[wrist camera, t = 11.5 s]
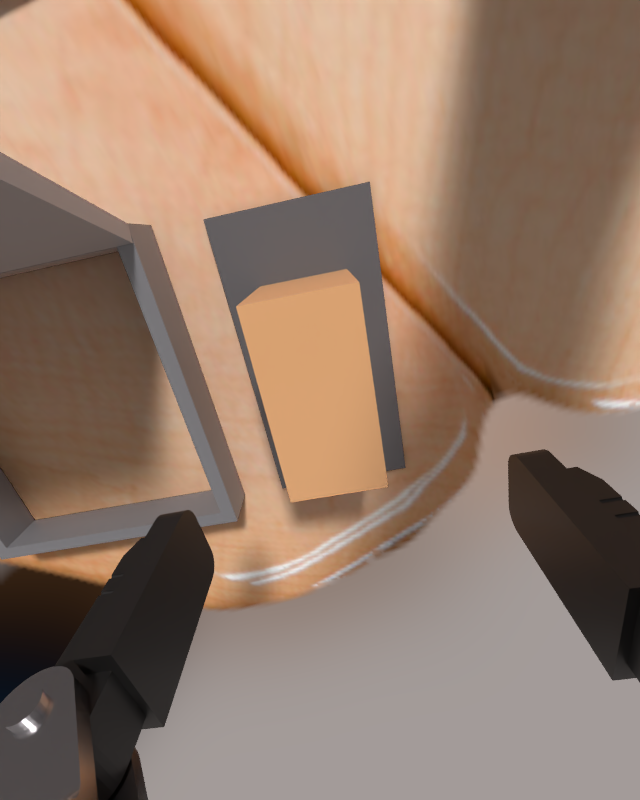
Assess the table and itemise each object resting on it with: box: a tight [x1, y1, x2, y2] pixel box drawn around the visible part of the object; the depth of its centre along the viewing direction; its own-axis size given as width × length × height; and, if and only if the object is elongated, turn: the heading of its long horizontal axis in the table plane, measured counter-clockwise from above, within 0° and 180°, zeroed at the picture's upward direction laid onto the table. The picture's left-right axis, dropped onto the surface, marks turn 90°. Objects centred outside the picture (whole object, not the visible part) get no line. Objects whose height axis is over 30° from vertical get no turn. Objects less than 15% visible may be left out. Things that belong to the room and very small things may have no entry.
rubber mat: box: [204, 182, 405, 488], centre depth 21 cm, size 8×16×1 cm, turn 11°
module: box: [236, 269, 388, 502], centre depth 18 cm, size 4×9×6 cm, turn 11°
